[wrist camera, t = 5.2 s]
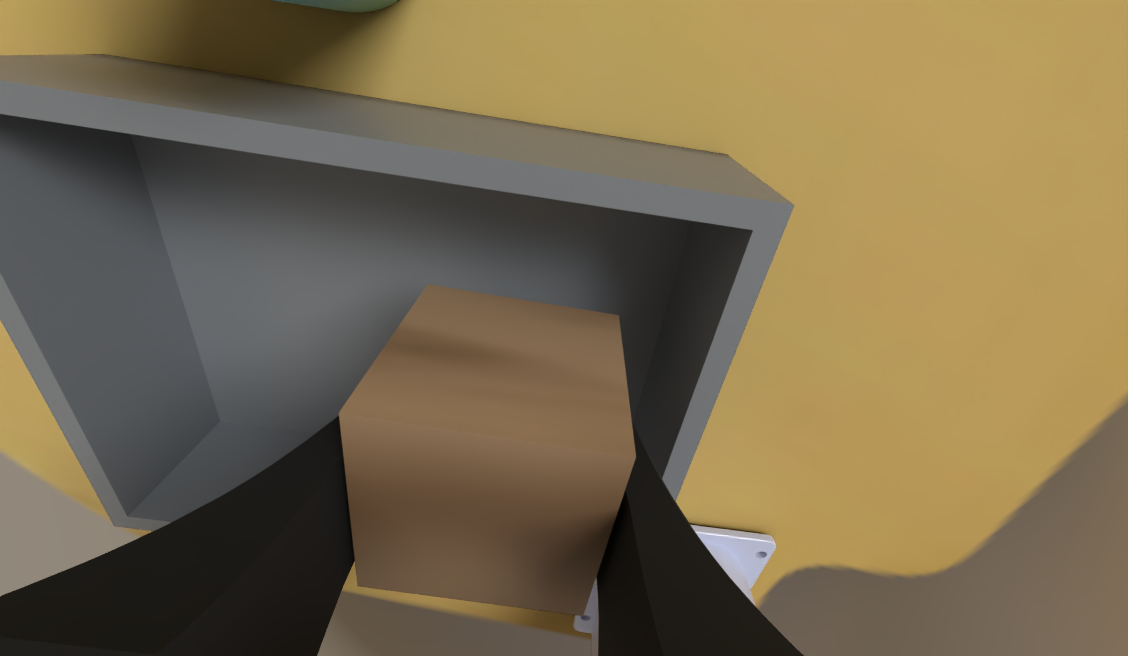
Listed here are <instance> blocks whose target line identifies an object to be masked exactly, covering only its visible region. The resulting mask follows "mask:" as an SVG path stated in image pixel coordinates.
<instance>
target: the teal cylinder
mask: <svg viewBox="0 0 1128 656" xmlns="http://www.w3.org/2000/svg"><path fill="white" fill-rule="evenodd" d="M272 1H279V2H285V3H292V4H298V5H305V6H311V7H318V8H324V9H331V10H338V11H344V12H355V13H361V12H371V11H376V10H380V9H383V8H385V7H388V6H390V5H392V4H394V3H396V2H397V1H399V0H272Z"/></svg>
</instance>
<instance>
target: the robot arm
mask: <svg viewBox="0 0 1128 656" xmlns="http://www.w3.org/2000/svg"><path fill="white" fill-rule="evenodd" d="M632 428H633V436H634V444H635V452H636V459H635V462H634V465H633V468H632V471H631V474H630V477H629V480H628V483H627V486H626V489H625V492H624V495H623V498H622V501H621V504H620V507H619V510H618V513H617V516H616V519H615V522H614V525H613V528H612V531H611V534H610V537H609V540H608V543H607V546H606V549H605V552H604V555H603V558H602V561H601V564H600V567H599V570H598V573H597V576H596V579H597V585H593V588H592V591H591V594H590V597H589V600H588V603H587V606H586V609H585V612H584V615H583V616H578V615H575V616H574V621H573V627H574V629H575V630H576V631H579V632H585V633H591V639H592V656H804V655H802V654H801V653H800V652H799V651H798V650H797V649H796V648H795V647H794V646H793V645H792V644H791V643H790V642H789V641H788V640H787V639H786V638H785V637H784V636H783V635H782V634H781V633H780V632H779V631H778V630H777V629H776V628H775V627H774V626H773V625H772V624H771V623H770V622H769V621H768V620H767V618H766V617H764V615H762V613H761V612H760V611H759V610H758V609H757V608H756V606H755V604H754V601H753V597H752V594H751V591H750V589H751V588H752V586H753V585H754V583H755V581H756V580H757V578H758V576H759V575H760V573H761V572H762V570H763V568H764V567H765V565H766V563H767V562H768V560H769V558H770V557H771V555H772V554H773V552H774V550H775V549H776V544H775V542H774V539H773V537H771V536H770V535H766V534H759V533H751V532H743V531H735V530H728V529H720V528H712V527H704V526H696V525H690V523H689V522H688V521H687V519H686V517H685V516H684V514H683V513H682V511H681V510H680V508H679V507H678V505H677V503H676V502H675V500H674V499H673V497H672V495H671V494H670V492H669V490H668V488H667V487H666V485H665V483H664V481H663V480H662V478H661V476H660V474H659V473H658V471H657V469H656V467H655V465H654V463H653V462H652V460H651V458H650V456H649V454H648V452H647V450H646V448H645V446H644V444H643V442H642V439H641V437H640V435H639V433H638V431H637V429H636V426H635V424H634V422H633V420H632ZM354 561H355V557H354V548H353V539H352V529H351V520H350V511H349V502H348V493H347V484H346V474H345V465H344V456H343V447H342V438H341V429H340V419H339V415H338V416H337V417H336V418H335V419H333V420H332V421H331V422H330V423H328V424H327V425H326V426H324V427H323V428H322V429H320V430H319V431H318V432H317V433H315V434H314V435H313V436H311V437H310V438H309V439H307V440H306V441H305V442H303V443H302V444H300V445H299V446H298V447H296V448H295V449H293V450H292V451H291V452H289V453H288V454H286V455H285V456H283V457H282V458H281V459H279V460H278V461H276V462H275V463H273V464H272V465H270V466H269V467H267V468H266V469H264V470H263V471H261V472H260V473H258V474H257V475H255V476H253V477H252V478H250V479H249V480H247V481H245V482H244V483H242V484H240V485H239V486H237V487H235V488H234V489H232V490H230V491H229V492H227V493H225V494H224V495H222V496H220V497H218V498H216V499H215V500H213V501H211V502H209V503H207V504H205V505H203V506H201V507H199V508H198V509H196V510H194V511H192V512H190V513H188V514H186V515H184V516H183V517H181V518H179V519H177V520H175V521H173V522H171V523H169V524H167V525H165V526H163V527H161V528H159V529H157V530H155V531H153V532H151V533H149V534H147V535H145V536H142V537H140V538H138V539H136V540H134V541H132V542H130V543H127V544H125V545H123V546H121V547H119V548H116V549H114V550H112V551H110V552H108V553H105V554H103V555H101V556H98V557H96V558H94V559H92V560H89V561H87V562H85V563H82V564H80V565H77V566H75V567H73V568H70V569H67V570H65V571H62V572H60V573H58V574H55V575H53V576H50V577H48V578H45V579H43V580H40V581H38V582H35V583H33V584H30V585H28V586H25V587H23V588H20V589H18V590H15V591H12V592H10V593H7V594H5V595H2V596H1V597H0V656H317V654H318V652H319V649H320V646H321V643H322V641H323V638H324V635H325V632H326V629H327V627H328V624H329V622H330V619H331V616H332V614H333V611H334V609H335V606H336V604H337V601H338V598H339V596H340V593H341V590H342V588H343V585H344V583H345V581H346V579H347V576H348V574H349V572H350V570H351V567H352V565H353V563H354Z"/></svg>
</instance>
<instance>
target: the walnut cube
mask: <svg viewBox="0 0 1128 656" xmlns="http://www.w3.org/2000/svg"><path fill="white" fill-rule="evenodd" d="M339 419H340V429H341V438H342V447H343V456H344V465H345V474H346V484H347V493H348V502H349V511H350V520H351V529H352V539H353V548H354V557H355V566H356V575H357V584H358V586H360V587H368V588H375V589H383V590H390V591H398V592H405V593H413V594H420V595H428V596H435V597H443V598H450V599H458V600H465V601H473V602H480V603H488V604H495V605H503V606H510V607H518V608H525V609H533V610H540V611H548V612H555V613H563V614H570V615H578V616H583V615H584V612H585V609H586V606H587V603H588V600H589V597H590V594H591V591H592V588H593V585H594V582H595V579H596V576H597V573H598V570H599V567H600V564H601V561H602V558H603V555H604V552H605V549H606V546H607V543H608V540H609V537H610V534H611V531H612V528H613V525H614V522H615V519H616V516H617V513H618V510H619V507H620V504H621V501H622V498H623V495H624V492H625V489H626V486H627V483H628V480H629V477H630V474H631V471H632V468H633V465H634V462H635V459H636V452H635V444H634V436H633V428H632V419H631V411H630V403H629V395H628V387H627V378H626V370H625V362H624V354H623V346H622V337H621V329H620V321H619V315H614V314H608V313H602V312H596V311H590V310H584V309H578V308H571V307H565V306H559V305H553V304H547V303H541V302H535V301H528V300H522V299H516V298H510V297H504V296H498V295H492V294H485V293H479V292H473V291H467V290H461V289H455V288H449V287H442V286H436V285H430V284H427V286H426V287H425V289H424V290H423V291H422V293H421V294H420V296H419V297H418V299H417V300H416V302H415V303H414V305H413V306H412V307H411V309H410V310H409V312H408V313H407V315H406V316H405V318H404V319H403V320H402V322H401V323H400V325H399V326H398V328H397V329H396V331H395V332H394V333H393V335H392V336H391V338H390V339H389V341H388V342H387V344H386V345H385V346H384V348H383V349H382V351H381V352H380V354H379V355H378V357H377V358H376V360H375V361H374V362H373V364H372V365H371V367H370V368H369V370H368V371H367V373H366V374H365V375H364V377H363V378H362V380H361V381H360V383H359V384H358V386H357V387H356V388H355V390H354V391H353V393H352V394H351V396H350V397H349V399H348V400H347V401H346V403H345V404H344V406H343V407H342V409H341V410H340V412H339Z"/></svg>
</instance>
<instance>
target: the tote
mask: <svg viewBox="0 0 1128 656" xmlns="http://www.w3.org/2000/svg"><path fill="white" fill-rule="evenodd" d="M793 207H794V204H792V203H791V202H790V201H788V200H787V199H786V198H784V197H783V196H782V195H780V194H779V193H778V192H776V191H775V190H774V189H772V188H771V187H770V186H768V185H767V184H766V183H764V182H763V181H762V180H760V179H759V178H758V177H756V176H755V175H754V174H752V173H751V172H750V171H748V170H747V169H746V168H744V167H743V166H742V165H740V164H739V163H738V162H736V161H735V160H734V159H732V158H731V157H730V156H728V155H727V154H721V153H715V152H709V151H702V150H696V149H690V148H684V147H677V146H671V145H665V144H659V143H653V142H646V141H640V140H634V139H628V138H621V137H615V136H609V135H603V134H597V133H590V132H584V131H578V130H572V129H565V128H559V127H553V126H547V125H541V124H534V123H528V122H522V121H516V120H510V119H503V118H497V117H491V116H485V115H478V114H472V113H466V112H460V111H454V110H447V109H441V108H435V107H429V106H422V105H416V104H410V103H404V102H398V101H391V100H385V99H379V98H373V97H366V96H360V95H354V94H348V93H342V92H335V91H329V90H323V89H317V88H310V87H304V86H298V85H292V84H286V83H279V82H273V81H267V80H261V79H254V78H248V77H242V76H236V75H230V74H223V73H217V72H211V71H205V70H199V69H192V68H186V67H180V66H174V65H167V64H161V63H155V62H149V61H143V60H136V59H130V58H124V57H118V56H111V55H105V54H84V55H7V56H0V320H1V322H2V323H3V325H4V327H5V329H6V331H7V332H8V334H9V336H10V338H11V340H12V342H13V343H14V345H15V347H16V349H17V351H18V352H19V354H20V356H21V358H22V360H23V361H24V363H25V365H26V367H27V369H28V371H29V372H30V374H31V376H32V378H33V380H34V381H35V383H36V385H37V387H38V389H39V390H40V392H41V394H42V396H43V398H44V400H45V401H46V403H47V405H48V407H49V409H50V410H51V412H52V414H53V416H54V418H55V419H56V421H57V423H58V425H59V427H60V429H61V430H62V432H63V434H64V436H65V438H66V439H67V441H68V443H69V445H70V447H71V448H72V450H73V452H74V454H75V456H76V458H77V459H78V461H79V463H80V465H81V467H82V468H83V470H84V472H85V474H86V476H87V477H88V479H89V481H90V483H91V485H92V487H93V488H94V490H95V492H96V494H97V496H98V497H99V499H100V501H101V503H102V505H103V506H104V508H105V510H106V512H107V514H108V516H109V517H110V519H111V521H112V523H113V525H114V526H117V527H125V528H133V529H141V530H150V531H155V530H157V529H159V528H161V527H163V526H165V525H167V524H169V523H171V522H173V521H175V520H177V519H179V518H181V517H183V516H184V515H186V514H188V513H190V512H192V511H194V510H196V509H198V508H199V507H201V506H203V505H205V504H207V503H209V502H211V501H213V500H215V499H216V498H218V497H220V496H222V495H224V494H225V493H227V492H229V491H230V490H232V489H234V488H235V487H237V486H239V485H240V484H242V483H244V482H245V481H247V480H249V479H250V478H252V477H253V476H255V475H257V474H258V473H260V472H261V471H263V470H264V469H266V468H267V467H269V466H270V465H272V464H273V463H275V462H276V461H278V460H279V459H281V458H282V457H283V456H285V455H286V454H288V453H289V452H291V451H292V450H293V449H295V448H296V447H298V446H299V445H300V444H302V443H303V442H305V441H306V440H307V439H309V438H310V437H311V436H313V435H314V434H315V433H317V432H318V431H319V430H320V429H322V428H323V427H324V426H326V425H327V424H328V423H330V422H331V421H332V420H333V419H335V418H336V417H337V416H338V415H339V412H340V410H341V409H342V407H343V406H344V404H345V403H346V401H347V400H348V399H349V397H350V396H351V394H352V393H353V391H354V390H355V388H356V387H357V386H358V384H359V383H360V381H361V380H362V378H363V377H364V375H365V374H366V373H367V371H368V370H369V368H370V367H371V365H372V364H373V362H374V361H375V360H376V358H377V357H378V355H379V354H380V352H381V351H382V349H383V348H384V346H385V345H386V344H387V342H388V341H389V339H390V338H391V336H392V335H393V333H394V332H395V331H396V329H397V328H398V326H399V325H400V323H401V322H402V320H403V319H404V318H405V316H406V315H407V313H408V312H409V310H410V309H411V307H412V306H413V305H414V303H415V302H416V300H417V299H418V297H419V296H420V294H421V293H422V291H423V290H424V289H425V287H426V286H427V284H430V285H436V286H442V287H449V288H455V289H461V290H467V291H473V292H479V293H485V294H492V295H498V296H504V297H510V298H516V299H522V300H528V301H535V302H541V303H547V304H553V305H559V306H565V307H571V308H578V309H584V310H590V311H596V312H602V313H608V314H614V315H619V321H620V329H621V337H622V346H623V354H624V362H625V370H626V378H627V387H628V395H629V403H630V411H631V419H632V420H633V422H634V424H635V426H636V429H637V431H638V433H639V435H640V437H641V439H642V442H643V444H644V446H645V448H646V450H647V452H648V454H649V456H650V458H651V460H652V462H653V463H654V465H655V467H656V469H657V471H658V473H659V474H660V476H661V478H662V480H663V481H664V483H665V485H666V487H667V488H668V490H669V492H670V494H671V495H672V497H673V499H674V500H675V501H676V499H677V496H678V494H679V491H680V489H681V486H682V484H683V481H684V479H685V476H686V474H687V471H688V469H689V466H690V464H691V462H692V459H693V457H694V454H695V452H696V449H697V447H698V444H699V442H700V439H701V437H702V434H703V432H704V429H705V427H706V424H707V422H708V419H709V417H710V414H711V412H712V409H713V407H714V404H715V402H716V399H717V397H718V394H719V392H720V389H721V387H722V384H723V382H724V379H725V377H726V374H727V372H728V369H729V367H730V364H731V362H732V359H733V357H734V354H735V352H736V349H737V347H738V344H739V342H740V339H741V337H742V334H743V332H744V329H745V327H746V324H747V322H748V319H749V317H750V314H751V312H752V309H753V307H754V304H755V302H756V299H757V297H758V294H759V292H760V289H761V287H762V284H763V282H764V279H765V277H766V274H767V272H768V269H769V267H770V264H771V262H772V259H773V257H774V255H775V252H776V250H777V247H778V245H779V242H780V240H781V237H782V235H783V232H784V230H785V227H786V225H787V222H788V220H789V217H790V215H791V212H792V210H793ZM594 585H597V579H595V582H594Z"/></svg>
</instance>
